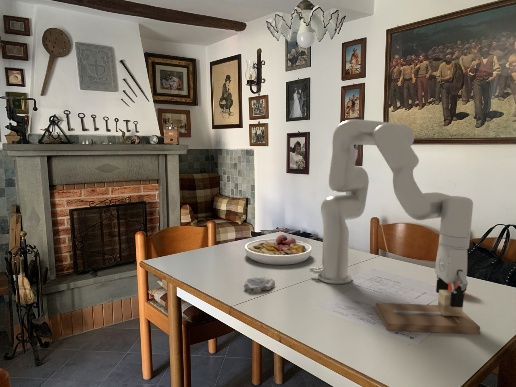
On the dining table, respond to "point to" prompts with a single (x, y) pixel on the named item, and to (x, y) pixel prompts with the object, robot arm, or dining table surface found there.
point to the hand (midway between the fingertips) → (448, 299)
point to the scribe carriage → (447, 304)
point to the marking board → (423, 319)
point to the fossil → (258, 284)
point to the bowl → (278, 251)
